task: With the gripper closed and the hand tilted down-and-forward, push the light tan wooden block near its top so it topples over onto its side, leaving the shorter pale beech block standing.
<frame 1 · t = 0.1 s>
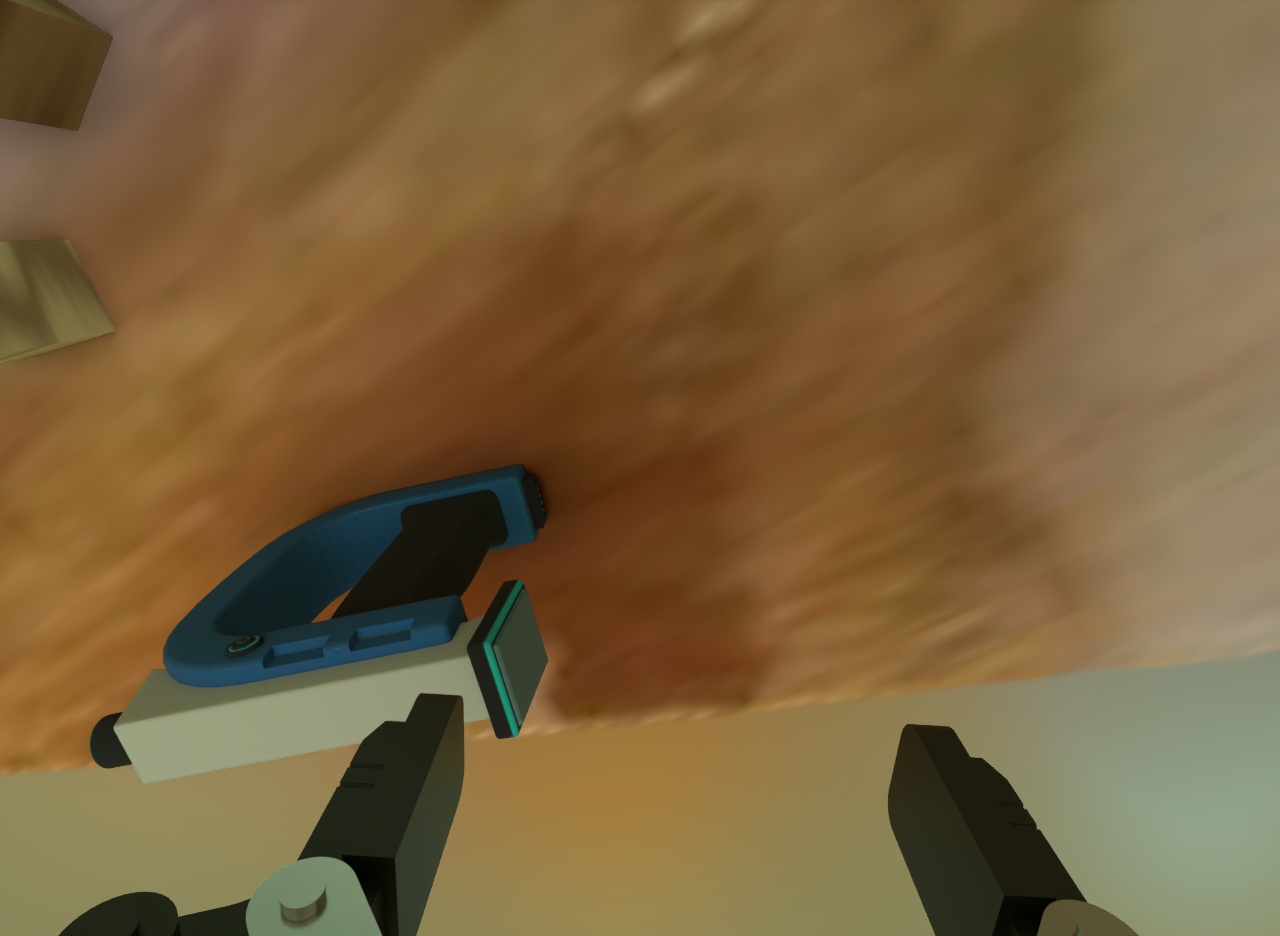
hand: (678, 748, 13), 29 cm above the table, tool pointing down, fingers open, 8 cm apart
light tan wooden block: (45, 53, 36), on the table
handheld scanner: (444, 509, 43), on the table
beech block: (52, 299, 39), on the table
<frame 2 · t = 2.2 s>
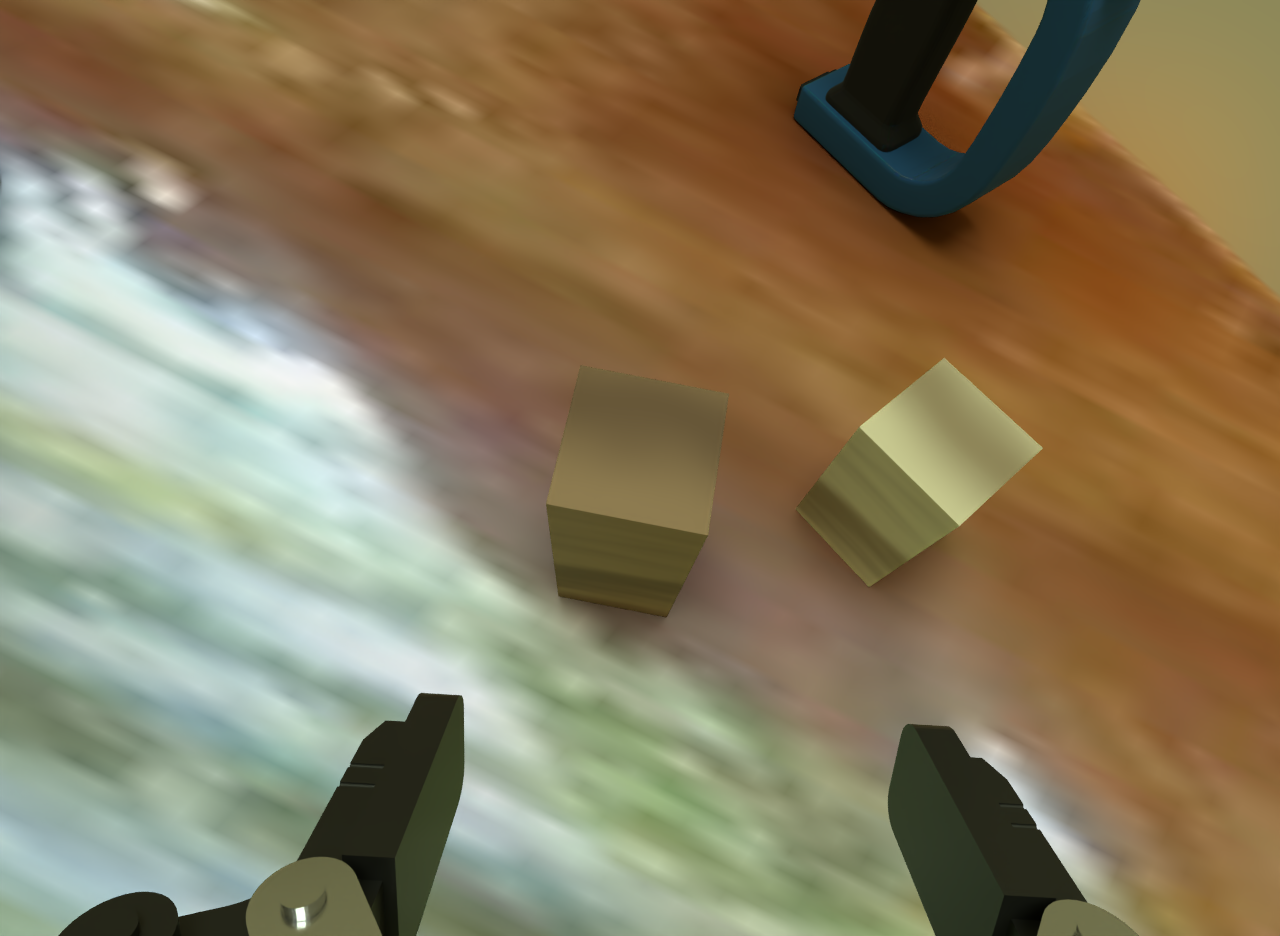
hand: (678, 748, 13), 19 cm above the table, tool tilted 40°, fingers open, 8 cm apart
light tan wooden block: (622, 554, 34), on the table
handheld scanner: (869, 164, 45), on the table
beech block: (866, 516, 36), on the table
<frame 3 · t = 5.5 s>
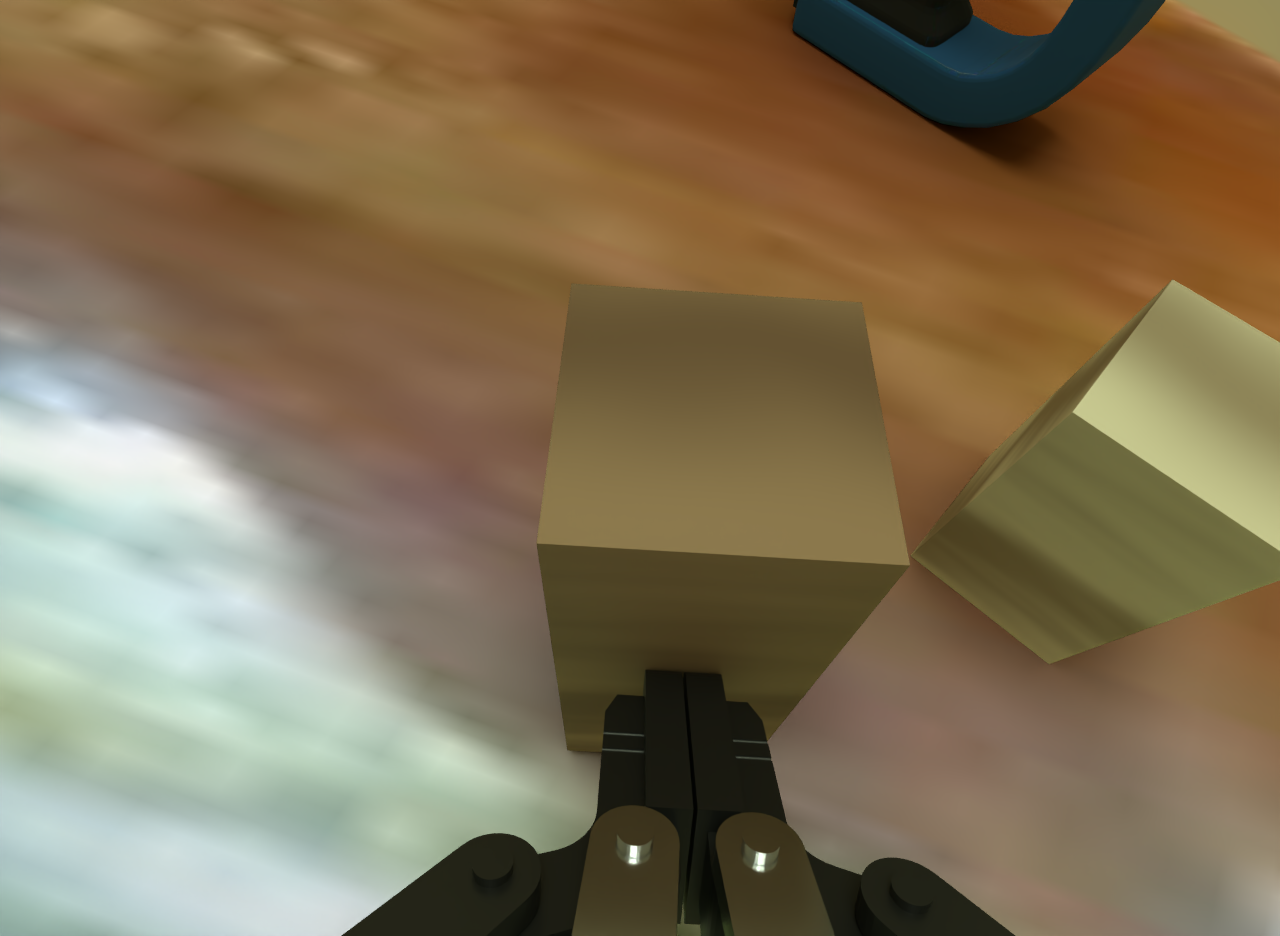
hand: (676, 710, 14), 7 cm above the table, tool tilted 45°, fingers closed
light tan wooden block: (662, 664, 21), on the table, tilted 7°
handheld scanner: (901, 76, 34), on the table
beech block: (1017, 553, 23), on the table
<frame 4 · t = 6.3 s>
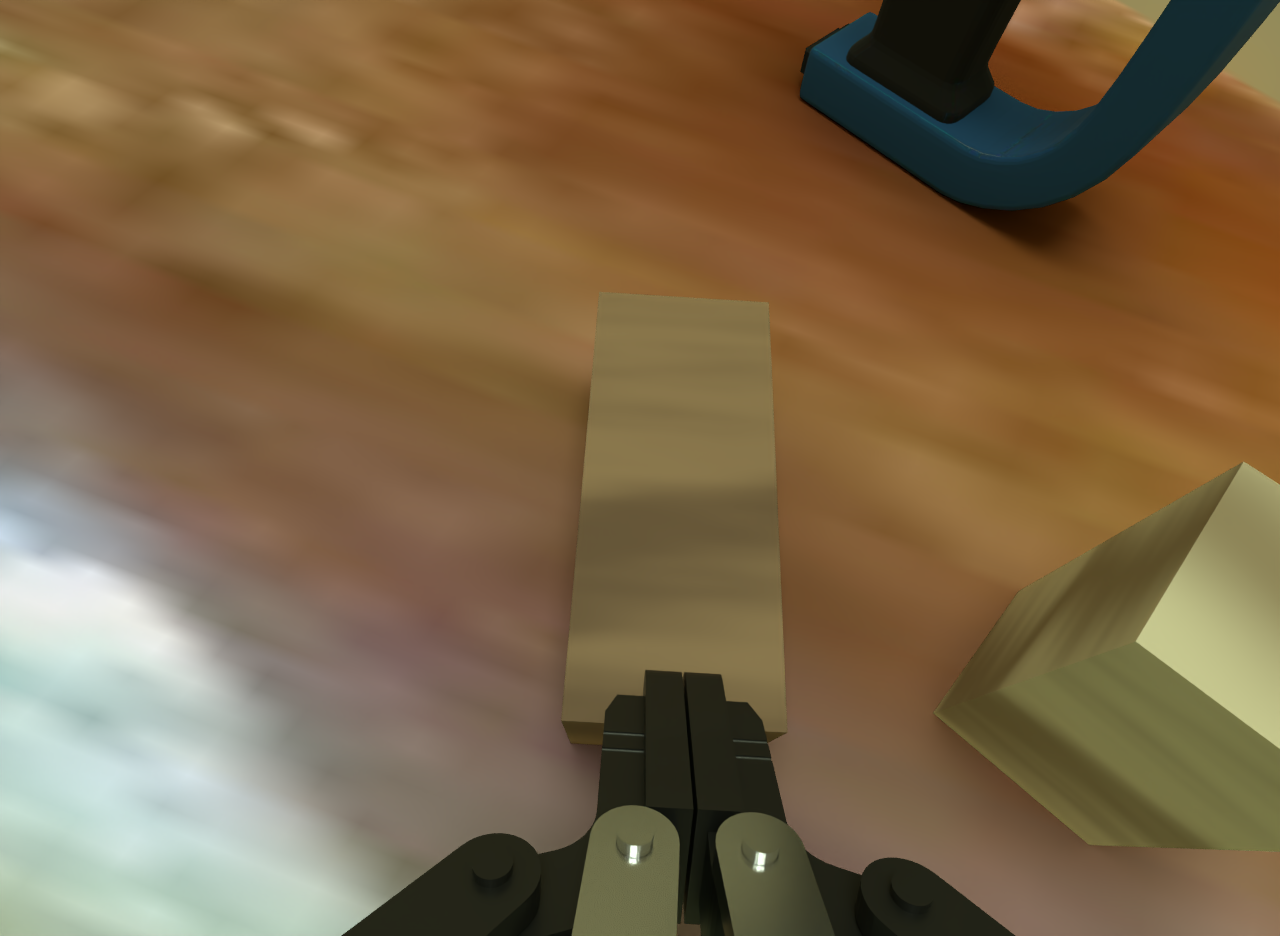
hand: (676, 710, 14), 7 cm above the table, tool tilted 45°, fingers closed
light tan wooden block: (666, 739, 18), point 2 cm above the table, tilted 90°
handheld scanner: (916, 147, 32), on the table
beech block: (1051, 708, 21), on the table
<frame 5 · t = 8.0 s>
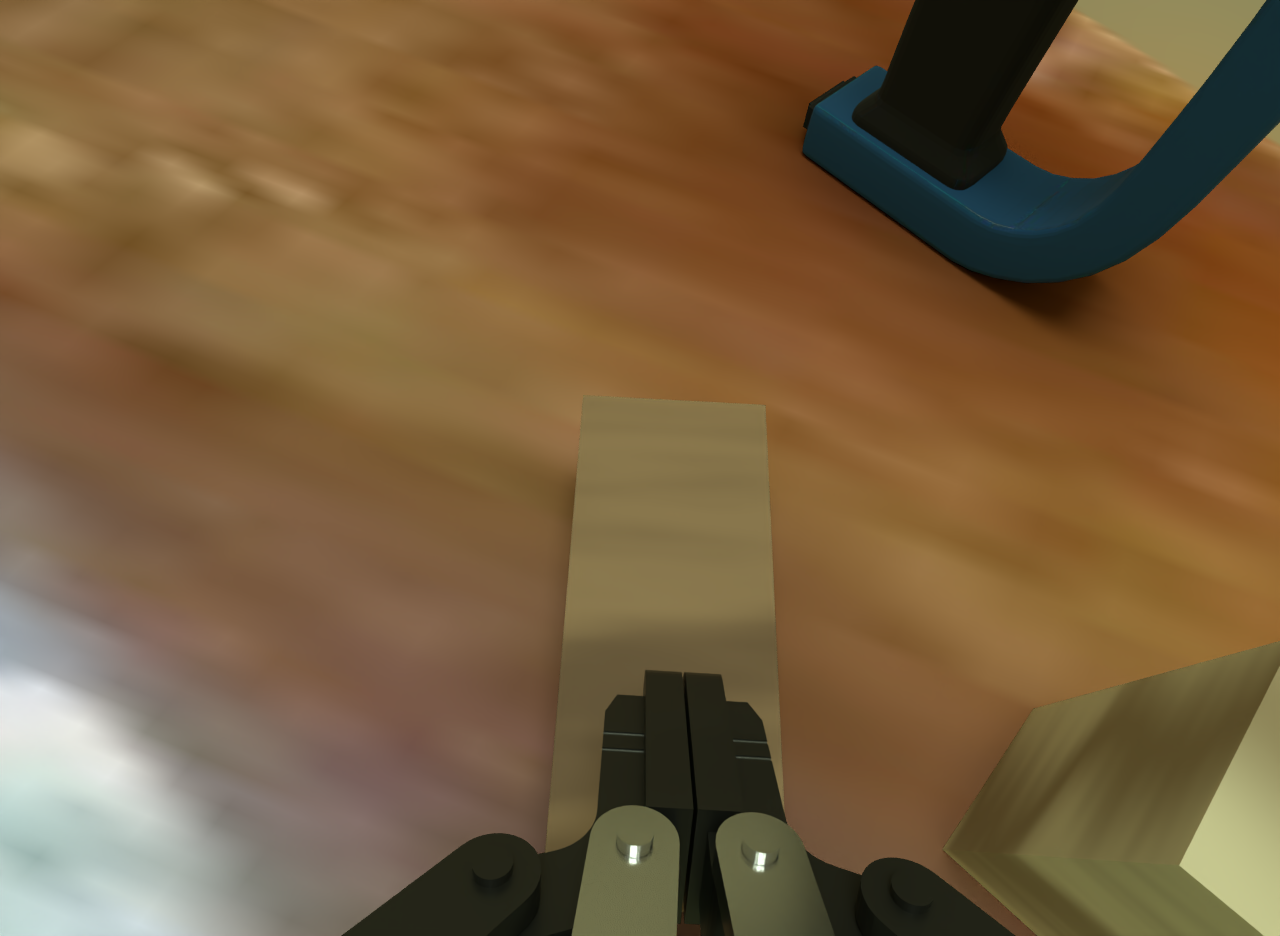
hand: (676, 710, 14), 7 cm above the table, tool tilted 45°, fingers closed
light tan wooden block: (657, 899, 17), point 2 cm above the table, tilted 90°
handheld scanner: (924, 207, 30), on the table
beech block: (1068, 844, 20), on the table
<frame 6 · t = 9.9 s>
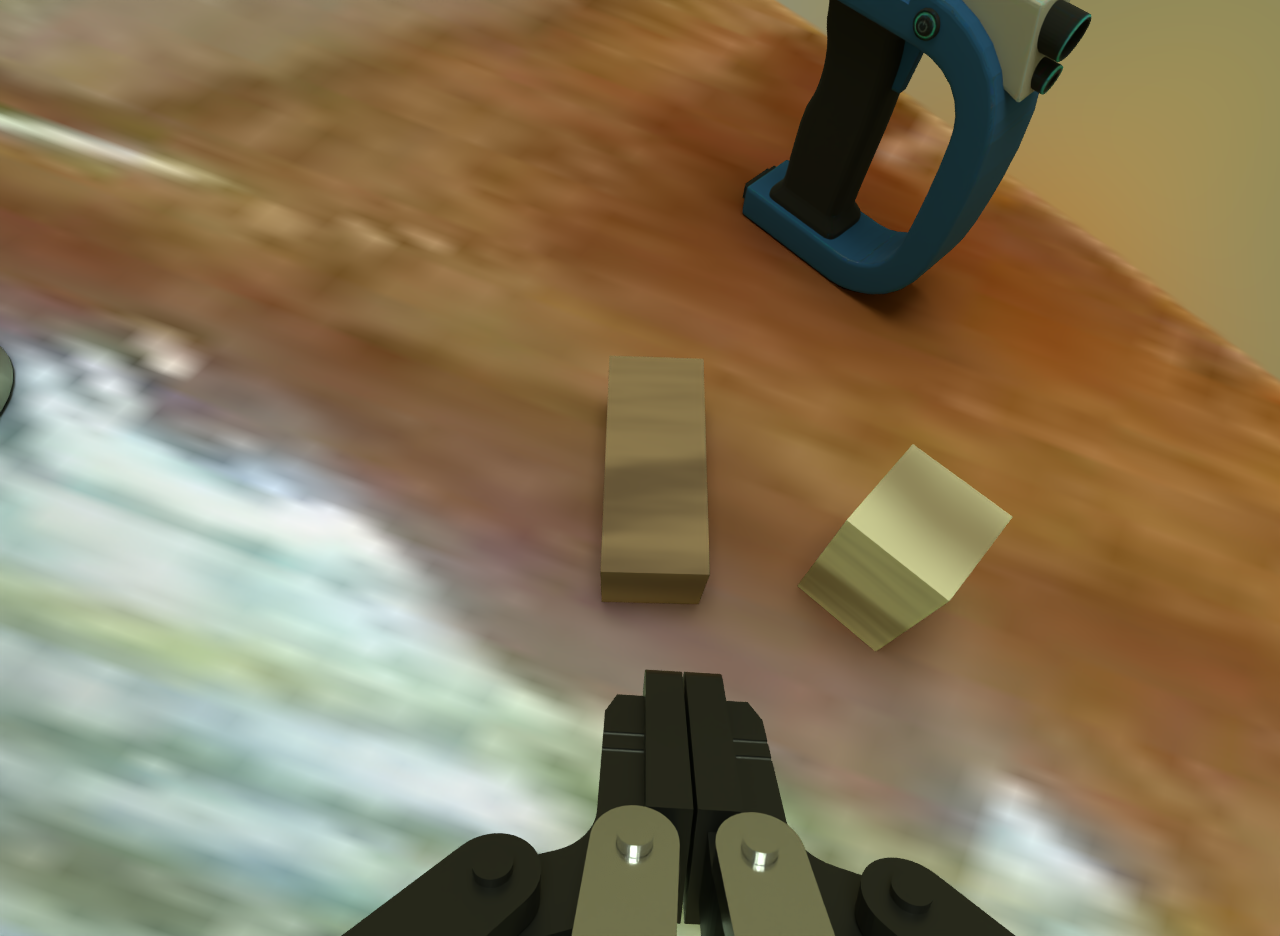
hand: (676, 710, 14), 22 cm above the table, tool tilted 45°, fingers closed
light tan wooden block: (652, 589, 35), point 2 cm above the table, tilted 90°
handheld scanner: (817, 247, 49), on the table
beech block: (863, 584, 38), on the table
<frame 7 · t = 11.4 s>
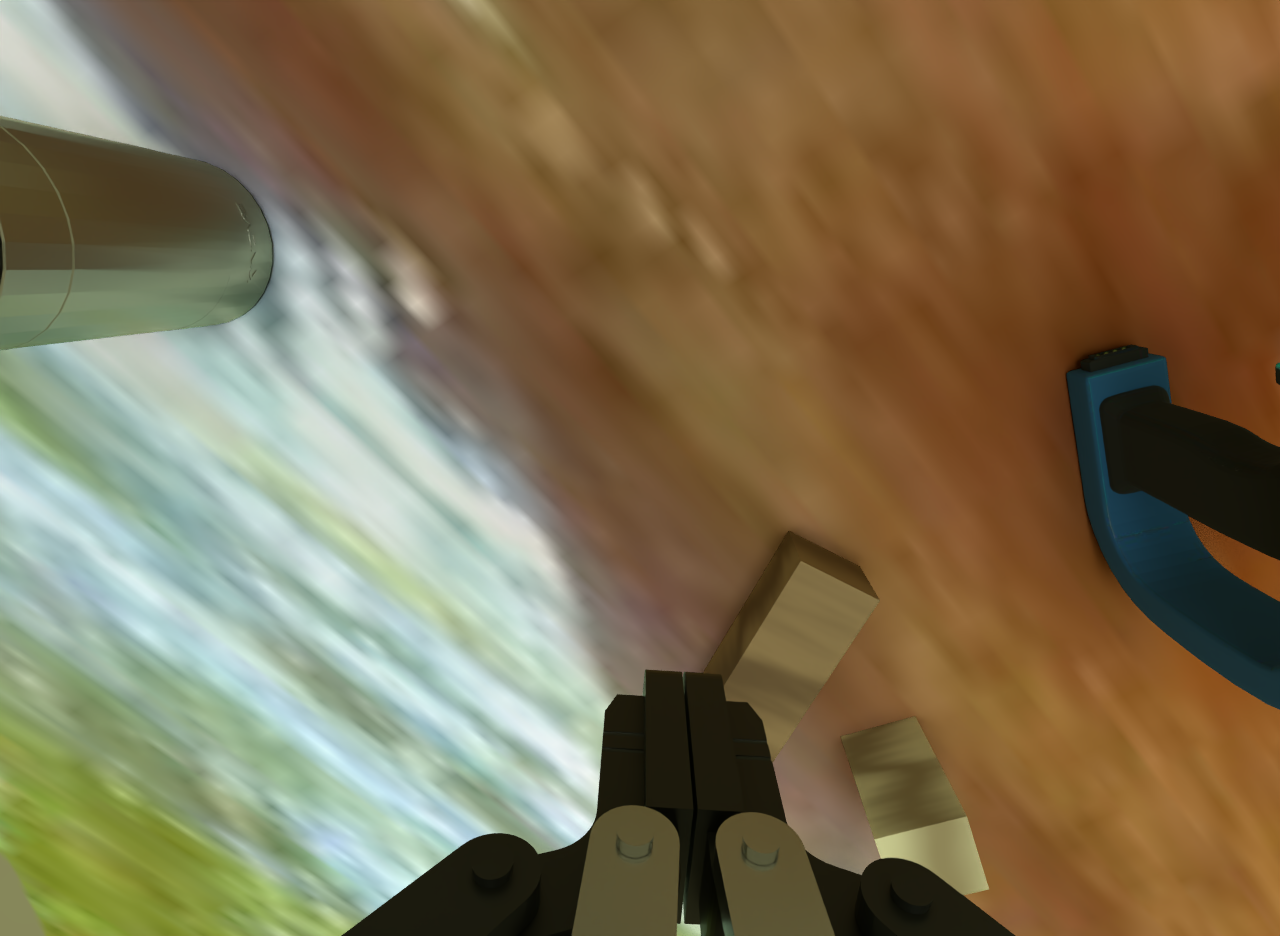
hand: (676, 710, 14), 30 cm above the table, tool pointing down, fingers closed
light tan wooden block: (732, 719, 46), point 2 cm above the table, tilted 90°
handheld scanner: (1109, 452, 42), on the table
beech block: (887, 757, 48), on the table
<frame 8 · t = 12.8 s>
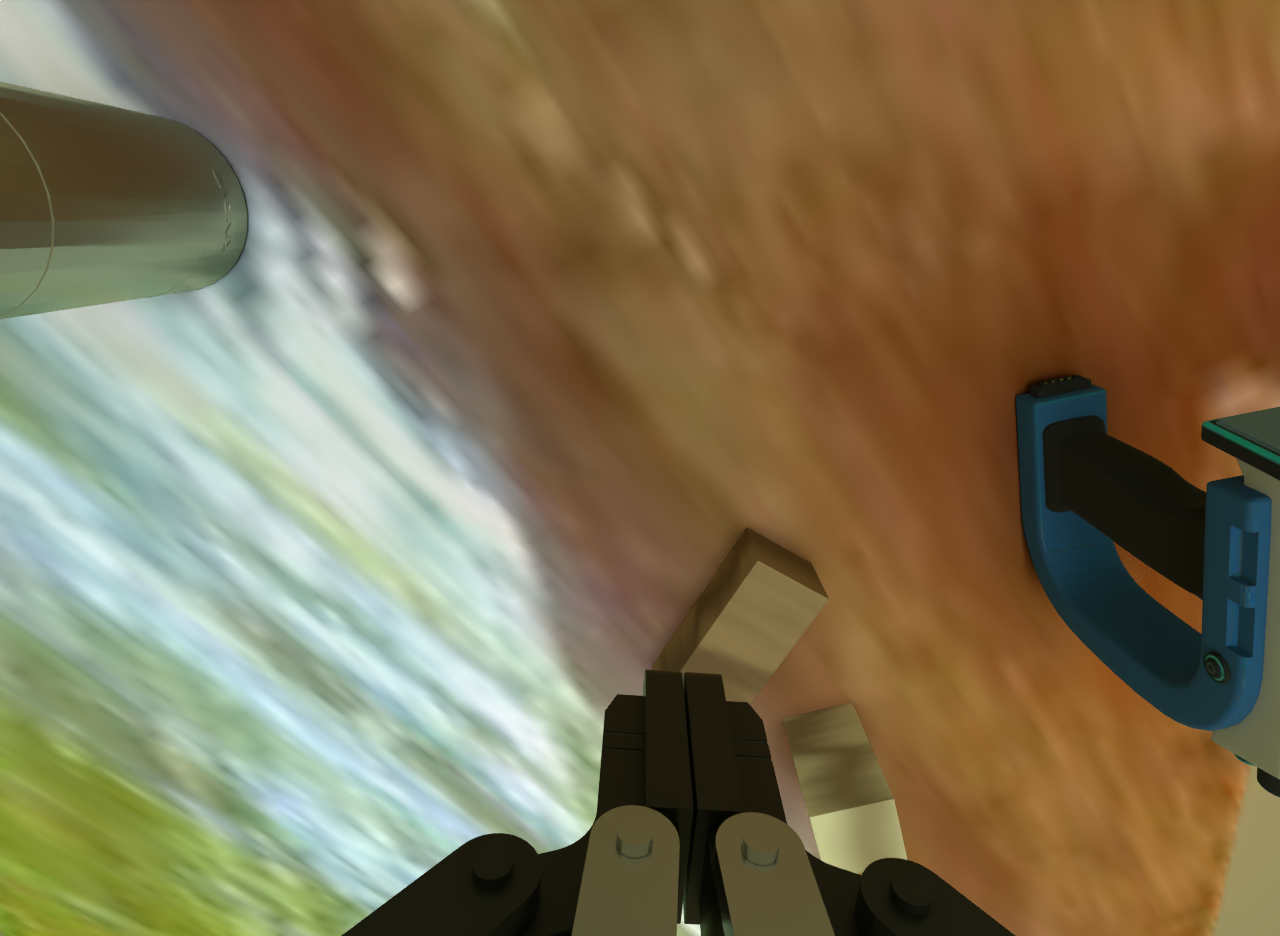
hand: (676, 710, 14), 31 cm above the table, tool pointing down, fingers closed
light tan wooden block: (685, 702, 48), point 2 cm above the table, tilted 90°
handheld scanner: (1047, 471, 45), on the table
beech block: (824, 738, 52), on the table
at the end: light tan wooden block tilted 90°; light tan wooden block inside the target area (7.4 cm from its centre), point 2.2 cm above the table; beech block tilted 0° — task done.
